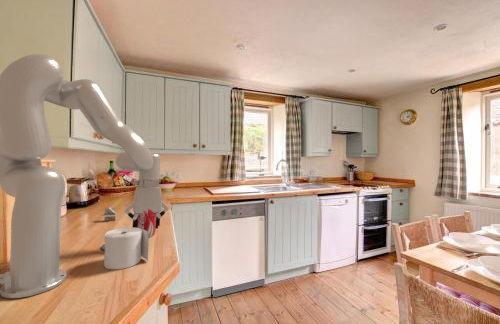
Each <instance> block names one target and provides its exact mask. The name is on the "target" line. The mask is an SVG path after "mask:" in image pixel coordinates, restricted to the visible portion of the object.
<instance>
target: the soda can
mask: <svg viewBox="0 0 500 324" xmlns="http://www.w3.org/2000/svg"><path fill="white" fill-rule="evenodd" d="M156 216H157V215H156V213H154V212H153V211H152V210H150V209H147V210H145V211H143V212H142V213H141V214H138V217H137V228H140V229H144V230H146V231H147V232H148V233H149V239H151V238H152V237H153V236H155V235H156V231H157V229H156Z"/></svg>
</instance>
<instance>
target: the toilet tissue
mask: <svg viewBox="0 0 500 324" xmlns="http://www.w3.org/2000/svg"><path fill="white" fill-rule="evenodd" d="M149 239H150V238H149V233H148V232H147V231H146V230H144V229H140V228H133V226H130V227H120V228H114V229H112V230H108V231H107V232H105V234H104V244H105V251H104V253H103V255H104V256H103V257H104V258H103V267H105V269H107V270H122V269H128V268H131V267H133V266H136V265H137V264H139V263H140V262H141V260H142V258H144V259H145V260H146V261H147V262H148V261H149Z"/></svg>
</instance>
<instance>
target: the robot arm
mask: <svg viewBox="0 0 500 324" xmlns="http://www.w3.org/2000/svg"><path fill="white" fill-rule="evenodd" d="M45 102H47V103H50V104H54V105H56V106H58V107H59V106H60V107H62V108H66V109H71V110H79V111H80V112H81V113H82V115H83V117H84V118H86V120H87V121H88V123H89V124H90V126H91V127H92V128H93V130H94V131H95V133H96V134H97V135H99V136H101V137H102V138H104V139H106V140H108V141H111V142H112V143H114V144H116V145H118V147H120V148H121V149H122V150H123V151H122V152H120V153H119V154H117V155H116V157H115V165H116V166H117V168H119V169H120V170H122V171H125V172H138V180H135V181H134V182H133V183H134V185H136V188H135V191H134V196H133V202H132V203H131V204H130V205H128V206H127V207H125V209H124V213H125V214H126V215H127V216H128V217H129V218H130V219H132V227H133V228H137V217H138V214H141V213H142V212H143V211H145V210H147V209H150V210H152V211H153V212H154V213H156V230H157V229H159V227H160V226H161V225H160V223H161V218H162V217H163V216H164V215H165V214H166V213H167V211H168V210H169V209H170V208H169V207H168V206H167V205H166V204H165V203H163V202H162V200H163V199H162V198H163V196H162V188H161V187H160V175H161V174H160V172H161V171H160V169H161V155H160V154H159V153H152V152H151V151H150V149H149V147H148V145H147V144H146V142H145V141H144V139H142V137H141V136H140V135H139V134H138V133H136V132H135V131H134V130H133V129H132V128H131V127H129V126H128V125H127V124H125V123H124V122H123V120H122V119H121V117H120V116H119V115H118V113H117V111H116V110H115V108H114V106H113V105H112V104H111V102H110V100H109V98H108V97H107V95H106V94H105V92H104V91H103V89H102V88H101V86H100V85H99V84H98V83H97V82H95V81H94V80H91V79H87V78H86V79H84V78H83V79H77V80H72V81H68V80H65V79H64V71H63V68H62V66H61V65H60V63H59V62H58V61H57V60H56V59H55V58H53V57H51V56H48V55H46V54H42V53H36V54H35V53H34V54H28V55H24V56H23V57H20V58H18V59H16V60H14V61H12V62H10V64H9V65H7V66H6V67H5V68H4V69H3V70H2V72H1V73H0V188H1V190H2V191H3V192H4V193H5V194H6V195H8V196H10V197H11V198H14V203H13V207H12V212H11V218H10V252H9V253H10V257H9V258H10V260H9V261H10V262H9V271H6V272H4V273H1V274H0V285H2V286H1V288H0V297H2V298H5V299H20V298H27V297H32V296H34V295H38V294H42V293H44V292H47V291H49V290H51V289H55V288H56V287H57V286H59V285H60V284H63V282H64V281H65V280H66V279H67V272H66V271H65V270H63V269H60V255H61V254H60V253H61V226H62V225H61V224H62V223H61V221H62V220H61V219H62V218H61V217H62V206H63V200H64V195H65V192H66V181H65V178H64V177H63V175H62V174H61V173H60V172H59V171H58V169H56V168H55V169H54V168H52V167H49V166H45V165H43V164H42V159H44V158H46V157H48V155H49V154H51V151H52V140H51V135H50V131H49V127H48V123H47V118H46V113H45ZM162 208H163V209H162ZM130 210H133V213H132V212H131V211H130Z"/></svg>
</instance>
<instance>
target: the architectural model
mask: <svg viewBox="0 0 500 324" xmlns="http://www.w3.org/2000/svg"><path fill="white" fill-rule="evenodd" d="M103 213H104V214H100V216H99V217H100V218H103V217H104V219H103V220H104V221H110V222H112V221H117V215H118V214H117V207H115V206H113V207H104V212H103Z"/></svg>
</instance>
